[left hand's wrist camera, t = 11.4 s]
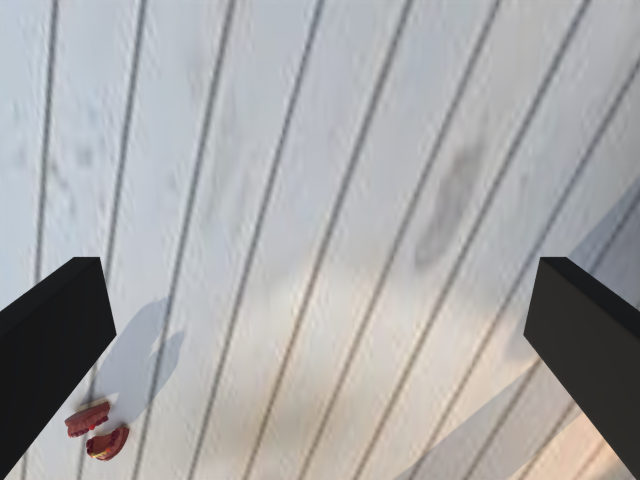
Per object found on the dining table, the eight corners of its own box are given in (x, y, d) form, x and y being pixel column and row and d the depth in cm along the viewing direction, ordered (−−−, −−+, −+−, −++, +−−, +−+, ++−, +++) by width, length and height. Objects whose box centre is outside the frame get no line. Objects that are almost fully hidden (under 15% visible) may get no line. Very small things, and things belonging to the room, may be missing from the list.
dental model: (87, 473, 55) (50, 431, 53) (101, 447, 59) (68, 407, 56) (123, 459, 55) (88, 416, 52) (135, 434, 59) (103, 393, 56)
